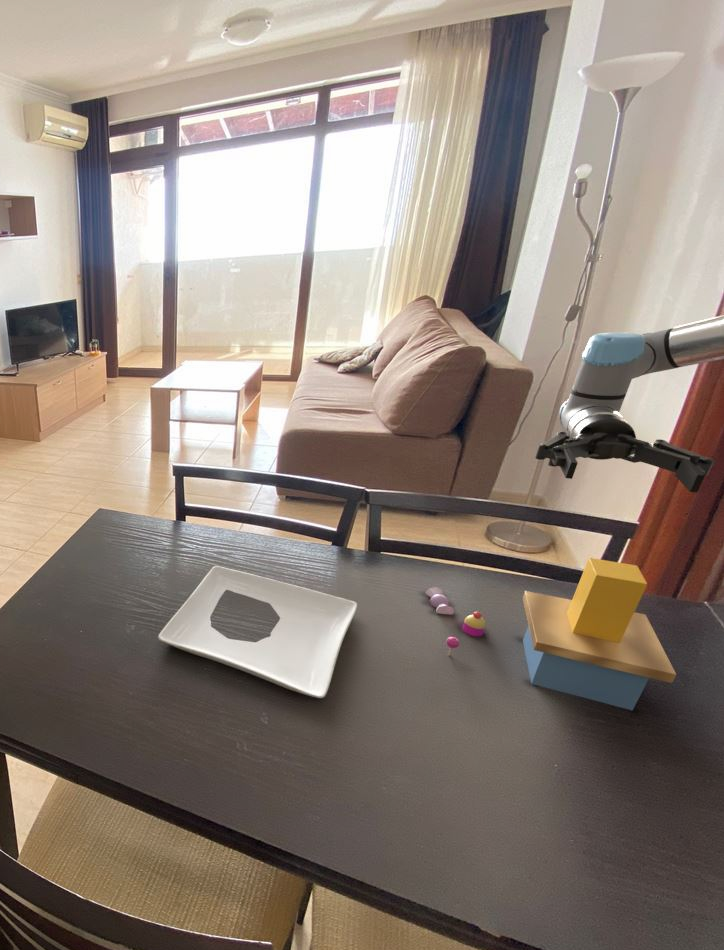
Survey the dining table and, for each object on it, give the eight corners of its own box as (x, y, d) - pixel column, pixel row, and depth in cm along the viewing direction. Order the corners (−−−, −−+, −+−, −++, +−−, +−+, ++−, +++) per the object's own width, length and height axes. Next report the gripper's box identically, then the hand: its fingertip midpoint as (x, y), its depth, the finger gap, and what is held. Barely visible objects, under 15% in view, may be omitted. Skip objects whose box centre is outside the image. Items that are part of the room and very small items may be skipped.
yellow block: (611, 622, 79) (637, 565, 75) (619, 643, 75) (647, 583, 71) (566, 613, 82) (588, 557, 77) (572, 632, 78) (596, 574, 74)
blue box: (611, 666, 84) (630, 625, 80) (630, 715, 76) (652, 672, 72) (521, 644, 89) (535, 605, 86) (529, 688, 81) (545, 647, 78)
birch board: (641, 622, 81) (645, 614, 80) (672, 683, 70) (676, 674, 70) (522, 598, 88) (525, 590, 87) (533, 650, 77) (536, 642, 77)
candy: (410, 597, 103) (416, 570, 100) (458, 601, 101) (466, 574, 98) (443, 662, 87) (451, 633, 85) (501, 669, 85) (512, 638, 82)
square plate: (355, 617, 99) (359, 599, 97) (321, 717, 79) (324, 697, 78) (213, 577, 114) (214, 561, 112) (155, 652, 95) (155, 635, 93)
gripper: (691, 462, 92) (744, 514, 76) (506, 445, 104) (518, 486, 89) (710, 419, 88) (770, 464, 73) (517, 407, 101) (532, 443, 85)
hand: (632, 477), depth 81 cm, fingers open, 13 cm apart
